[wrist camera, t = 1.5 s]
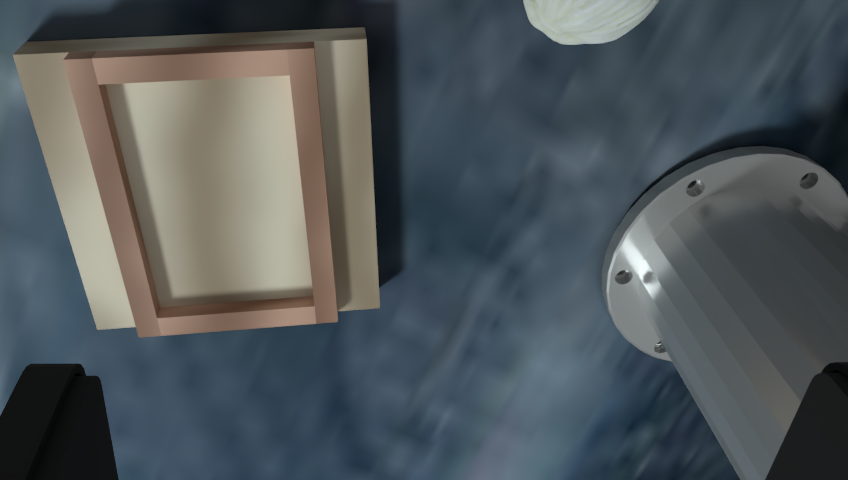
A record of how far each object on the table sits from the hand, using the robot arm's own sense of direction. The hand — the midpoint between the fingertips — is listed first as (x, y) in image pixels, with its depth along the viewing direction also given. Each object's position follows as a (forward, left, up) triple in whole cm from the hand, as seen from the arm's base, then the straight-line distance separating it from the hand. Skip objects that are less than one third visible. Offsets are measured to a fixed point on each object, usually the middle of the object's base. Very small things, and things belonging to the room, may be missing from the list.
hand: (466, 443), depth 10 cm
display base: (+7, +8, -23) cm, 26 cm away
